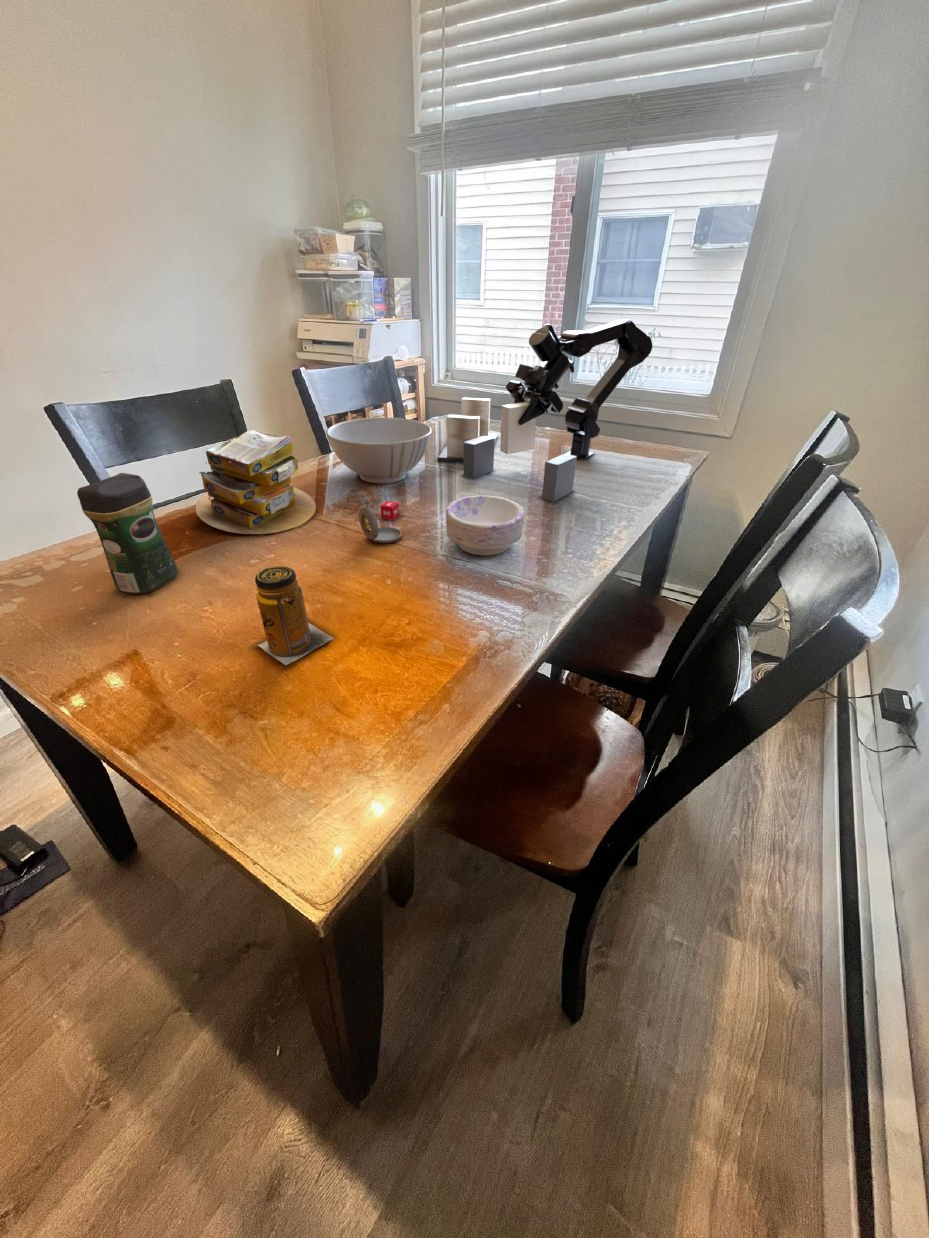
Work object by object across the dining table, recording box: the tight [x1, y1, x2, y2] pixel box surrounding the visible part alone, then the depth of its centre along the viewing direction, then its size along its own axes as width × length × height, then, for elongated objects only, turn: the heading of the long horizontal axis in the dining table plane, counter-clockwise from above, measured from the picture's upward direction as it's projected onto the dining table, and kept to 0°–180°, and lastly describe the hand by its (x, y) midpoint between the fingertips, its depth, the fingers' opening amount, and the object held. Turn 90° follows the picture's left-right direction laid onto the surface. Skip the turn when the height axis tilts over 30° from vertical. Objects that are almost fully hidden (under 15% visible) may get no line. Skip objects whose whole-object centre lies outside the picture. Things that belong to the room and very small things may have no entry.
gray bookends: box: [462, 436, 578, 502], centre depth 133 cm, size 9×28×9 cm, turn 51°
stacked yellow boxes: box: [195, 429, 317, 535], centre depth 112 cm, size 25×25×17 cm
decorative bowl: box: [325, 416, 433, 484], centre depth 136 cm, size 27×27×12 cm
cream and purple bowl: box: [445, 495, 525, 557], centre depth 102 cm, size 15×15×8 cm
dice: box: [379, 500, 400, 521], centre depth 115 cm, size 3×3×3 cm
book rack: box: [437, 397, 498, 464], centre depth 158 cm, size 14×30×12 cm, turn 171°
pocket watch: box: [358, 494, 402, 544], centre depth 104 cm, size 8×8×10 cm
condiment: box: [254, 565, 335, 666], centre depth 73 cm, size 7×8×12 cm
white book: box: [499, 400, 537, 455], centre depth 140 cm, size 9×4×12 cm, turn 120°
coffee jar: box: [76, 472, 179, 595], centre depth 85 cm, size 10×8×19 cm
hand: (514, 422), depth 139 cm, fingers closed on white book, 4 cm apart
